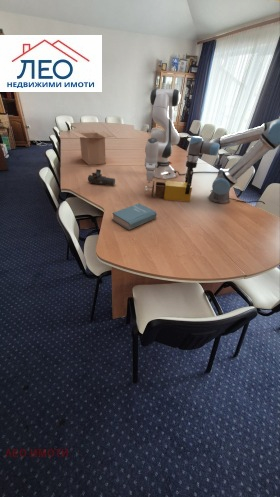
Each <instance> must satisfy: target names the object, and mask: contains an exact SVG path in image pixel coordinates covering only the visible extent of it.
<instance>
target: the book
mask: <svg viewBox="0 0 280 497" xmlns="http://www.w3.org/2000/svg"><path fill="white" fill-rule="evenodd" d="M157 214H158V213H157V211H156V210H154V209H152V208H149V207H148V206H146V205H144V204H142V203H139V202H138V203H136V204H133V205H130V206H126V207H125V208H121V209H120V210H119V209H118V210H116V211H114V212H112V217H113V218H112V221H113V222H115V223H117V224H118V225H119V226H121V227H123V228H125V230H128V231H130V230H132V229H135V228H137V227H139V226H141V225H143V224H146V223H149V222H151V221H152V220H155V219H156V218H157Z"/></svg>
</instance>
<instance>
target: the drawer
mask: <svg viewBox="0 0 280 497" xmlns="http://www.w3.org/2000/svg"><path fill="white" fill-rule="evenodd" d="M148 188H149V189H148ZM147 191H148V192H151V198H154V197H156V198H164V194H165V181H164V182H162V181H156V182H155V180H152V186H148V185H145V186H144V192H147Z"/></svg>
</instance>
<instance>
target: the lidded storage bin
mask: <svg viewBox="0 0 280 497" xmlns="http://www.w3.org/2000/svg"><path fill="white" fill-rule="evenodd" d="M164 183H165V194H164V197H163V200H164V201H165V200H166V201H177V202H186V203H188V202H189V203H190V200H191V195H192V192H193V186H192V185H191V186H190V191H189V194H185V191H186V185H187V182H185V181H176V180H175V181H174V180H165V181H164Z"/></svg>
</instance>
